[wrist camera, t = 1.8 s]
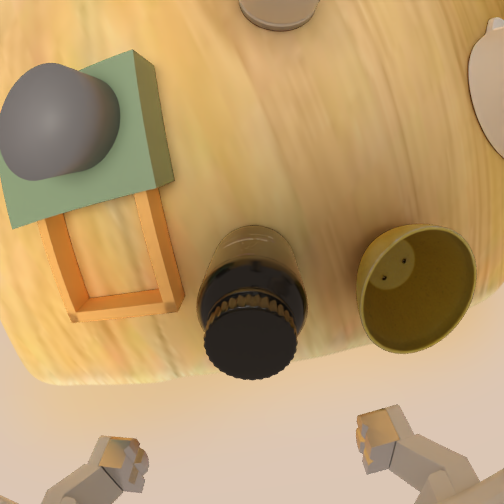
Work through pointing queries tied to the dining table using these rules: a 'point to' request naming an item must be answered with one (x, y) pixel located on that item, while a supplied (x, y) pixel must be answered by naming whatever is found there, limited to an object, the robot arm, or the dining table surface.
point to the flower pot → (414, 286)
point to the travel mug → (278, 13)
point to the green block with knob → (81, 137)
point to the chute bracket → (122, 304)
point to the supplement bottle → (252, 304)
